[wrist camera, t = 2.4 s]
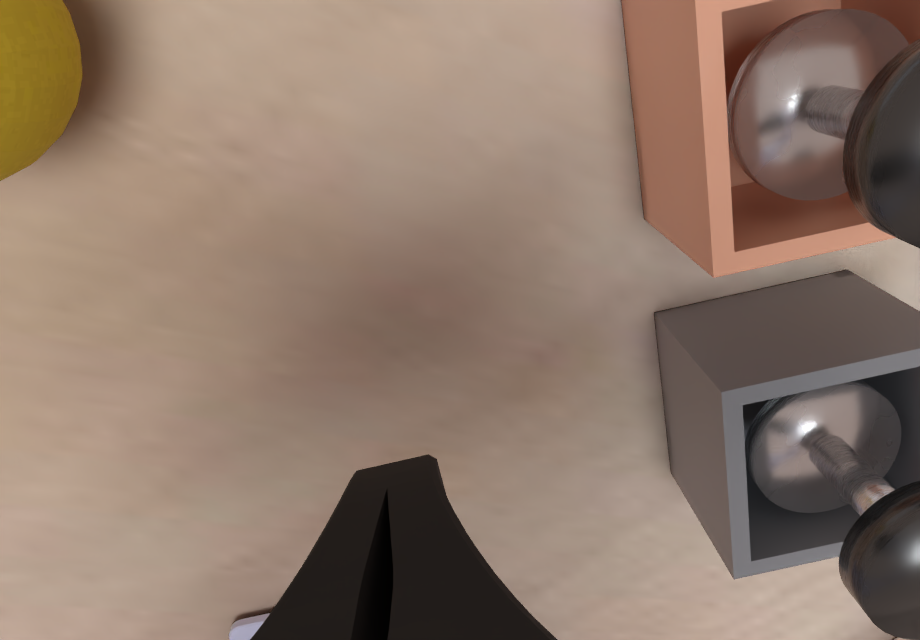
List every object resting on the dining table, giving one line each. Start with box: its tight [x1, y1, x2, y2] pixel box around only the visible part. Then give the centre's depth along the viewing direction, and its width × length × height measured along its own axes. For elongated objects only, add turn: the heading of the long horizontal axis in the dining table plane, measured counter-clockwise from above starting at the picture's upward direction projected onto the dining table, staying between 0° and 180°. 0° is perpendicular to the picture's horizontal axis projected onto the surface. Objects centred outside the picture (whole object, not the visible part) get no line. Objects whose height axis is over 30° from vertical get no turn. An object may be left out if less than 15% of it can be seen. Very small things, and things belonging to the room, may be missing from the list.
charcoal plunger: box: [745, 380, 920, 640], centre depth 17 cm, size 4×4×5 cm
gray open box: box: [654, 270, 920, 579], centre depth 21 cm, size 6×7×5 cm
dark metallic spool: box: [727, 9, 920, 248], centre depth 14 cm, size 4×4×5 cm
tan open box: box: [621, 0, 920, 278], centre depth 17 cm, size 6×7×5 cm
